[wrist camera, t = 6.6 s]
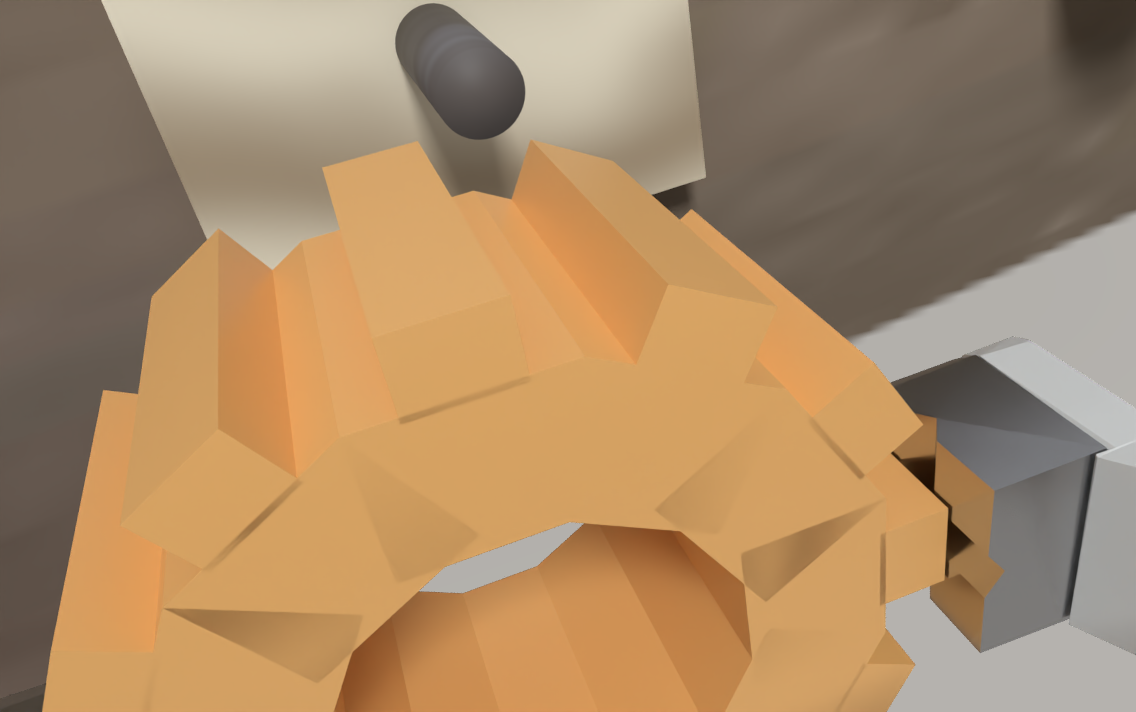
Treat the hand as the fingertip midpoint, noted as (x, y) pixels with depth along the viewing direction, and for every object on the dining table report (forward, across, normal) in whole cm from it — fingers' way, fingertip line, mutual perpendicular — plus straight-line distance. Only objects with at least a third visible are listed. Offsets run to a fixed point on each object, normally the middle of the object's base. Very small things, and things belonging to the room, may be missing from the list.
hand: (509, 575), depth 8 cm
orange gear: (+2, 0, 0) cm, 2 cm away
